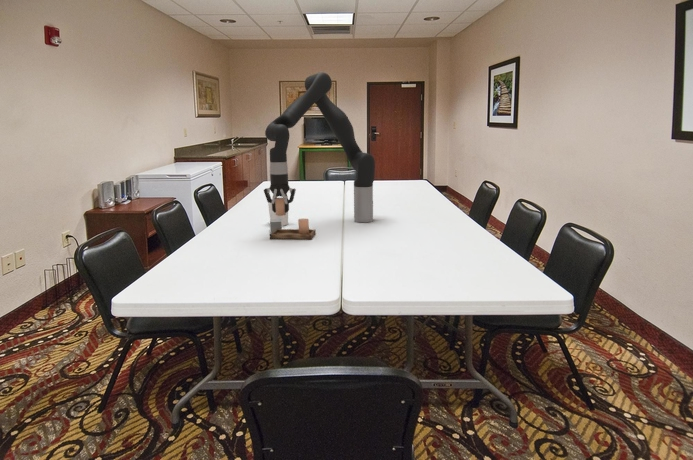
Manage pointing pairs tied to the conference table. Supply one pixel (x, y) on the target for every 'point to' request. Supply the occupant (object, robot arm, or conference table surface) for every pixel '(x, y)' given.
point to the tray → (291, 234)
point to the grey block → (275, 224)
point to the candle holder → (273, 216)
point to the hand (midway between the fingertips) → (280, 212)
